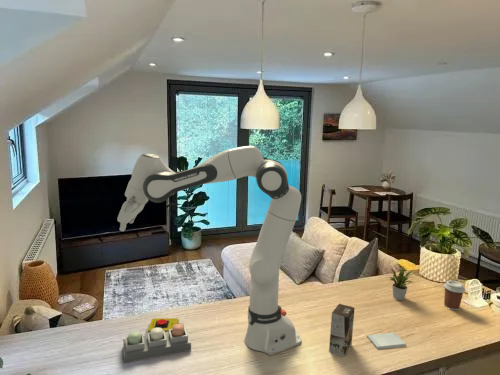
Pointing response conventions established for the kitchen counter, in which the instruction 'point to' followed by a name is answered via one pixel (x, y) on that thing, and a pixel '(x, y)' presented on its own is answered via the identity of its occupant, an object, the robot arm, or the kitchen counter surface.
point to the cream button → (156, 334)
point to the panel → (156, 346)
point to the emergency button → (162, 324)
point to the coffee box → (341, 329)
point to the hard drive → (386, 340)
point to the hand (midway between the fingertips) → (126, 226)
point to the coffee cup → (453, 294)
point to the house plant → (400, 283)
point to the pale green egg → (134, 338)
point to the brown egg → (178, 330)
